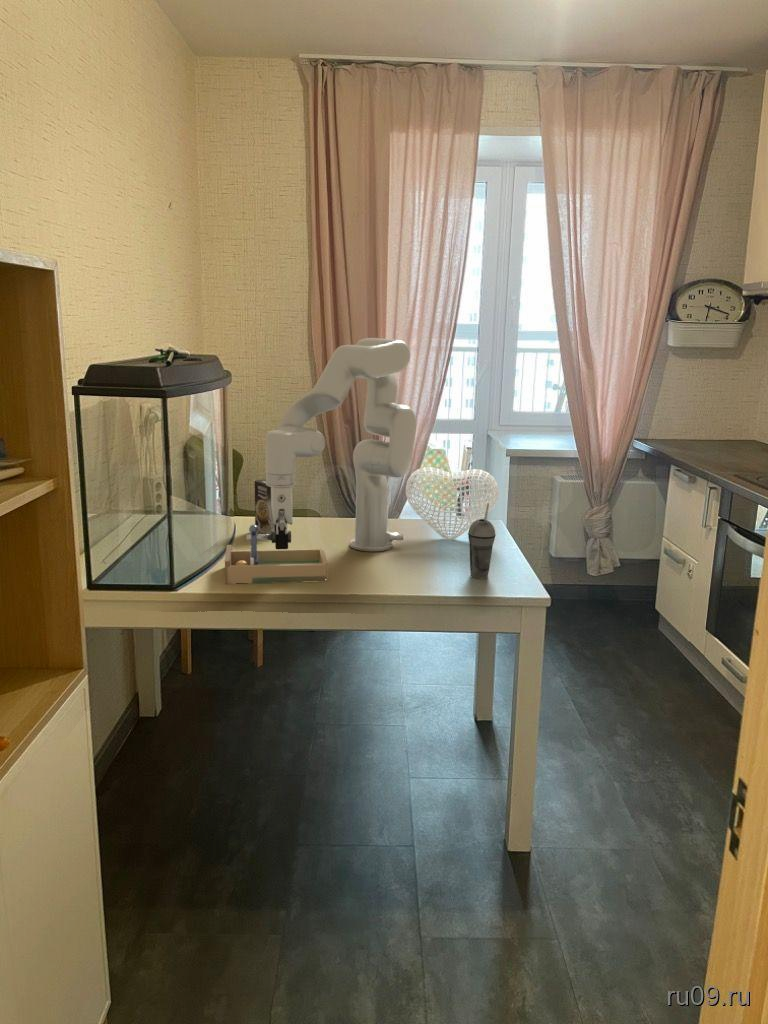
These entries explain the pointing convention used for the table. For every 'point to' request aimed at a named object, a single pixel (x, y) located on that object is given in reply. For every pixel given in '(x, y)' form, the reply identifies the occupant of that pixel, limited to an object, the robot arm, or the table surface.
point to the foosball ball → (241, 563)
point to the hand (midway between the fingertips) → (281, 543)
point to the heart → (448, 474)
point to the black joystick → (258, 537)
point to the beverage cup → (481, 546)
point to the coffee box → (263, 507)
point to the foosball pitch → (276, 566)
